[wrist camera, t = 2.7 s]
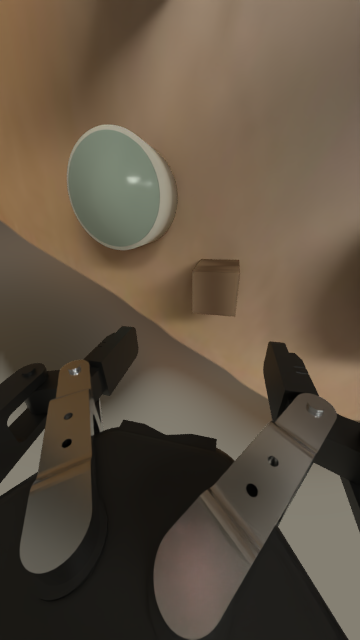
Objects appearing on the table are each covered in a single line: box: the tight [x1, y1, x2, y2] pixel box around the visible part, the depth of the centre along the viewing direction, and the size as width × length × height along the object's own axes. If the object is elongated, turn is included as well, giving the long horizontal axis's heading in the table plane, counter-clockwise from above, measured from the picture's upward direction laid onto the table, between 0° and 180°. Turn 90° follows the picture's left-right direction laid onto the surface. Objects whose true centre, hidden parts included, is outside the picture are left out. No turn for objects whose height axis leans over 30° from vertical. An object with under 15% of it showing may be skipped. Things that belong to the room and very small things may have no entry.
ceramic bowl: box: [67, 124, 178, 250], centre depth 21 cm, size 10×10×5 cm
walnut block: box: [192, 259, 240, 317], centre depth 23 cm, size 4×4×6 cm
